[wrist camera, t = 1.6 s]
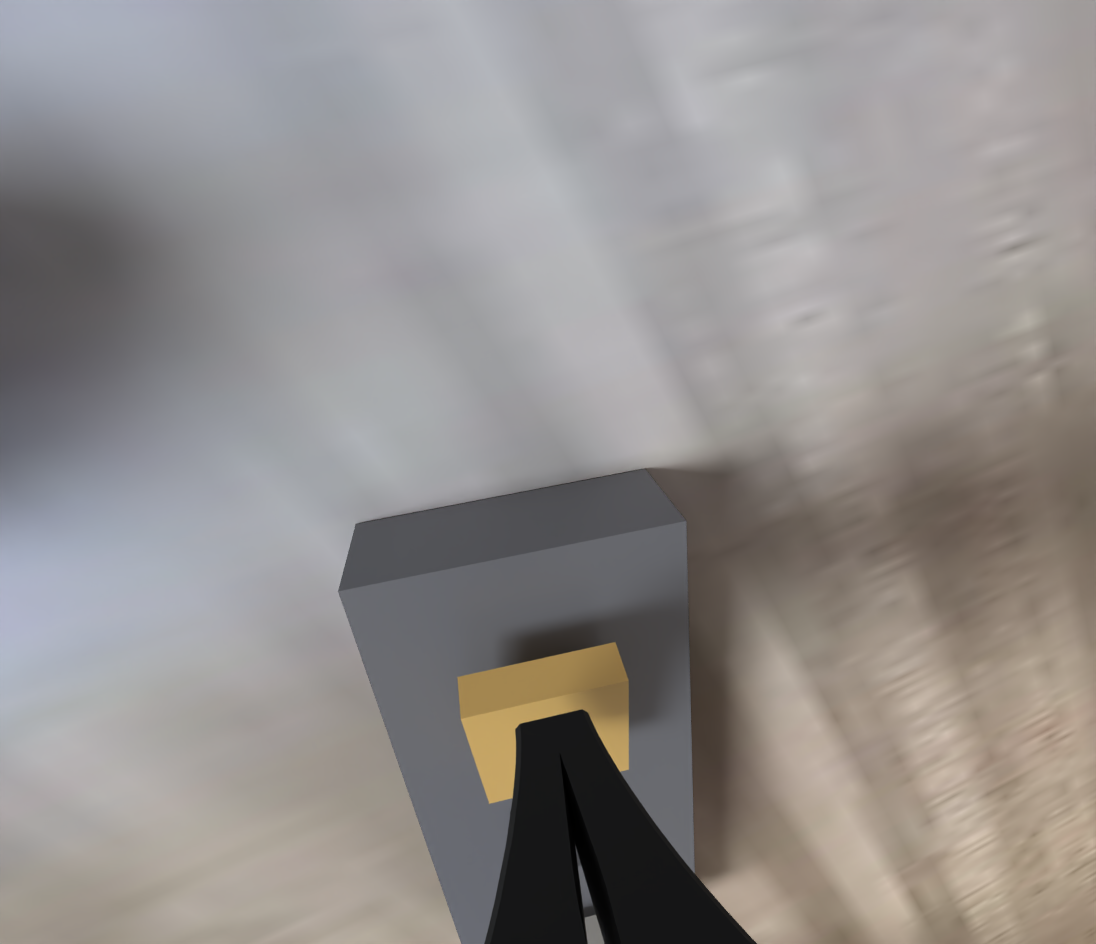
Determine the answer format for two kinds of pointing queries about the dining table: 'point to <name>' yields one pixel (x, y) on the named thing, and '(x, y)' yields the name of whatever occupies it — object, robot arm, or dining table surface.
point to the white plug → (593, 930)
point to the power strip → (523, 649)
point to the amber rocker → (542, 707)
